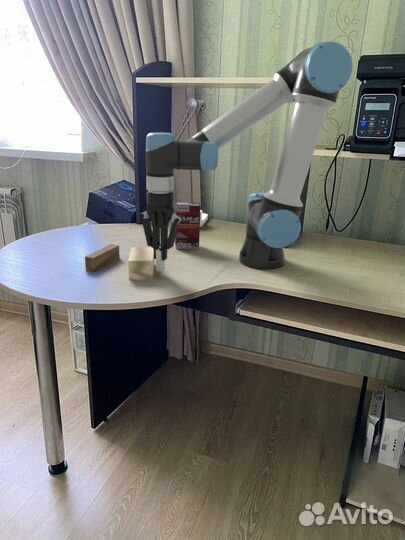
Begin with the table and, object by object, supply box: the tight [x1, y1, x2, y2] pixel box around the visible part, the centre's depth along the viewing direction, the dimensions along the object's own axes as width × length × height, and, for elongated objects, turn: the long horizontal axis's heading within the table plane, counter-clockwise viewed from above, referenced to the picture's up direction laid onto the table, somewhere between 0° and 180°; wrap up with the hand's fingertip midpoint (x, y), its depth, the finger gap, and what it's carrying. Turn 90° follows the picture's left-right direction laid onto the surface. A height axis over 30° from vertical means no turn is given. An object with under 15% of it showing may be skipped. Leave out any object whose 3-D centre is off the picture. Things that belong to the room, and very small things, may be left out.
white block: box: [200, 209, 209, 228], centre depth 183 cm, size 20×9×7 cm, turn 167°
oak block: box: [127, 247, 155, 280], centre depth 127 cm, size 7×12×6 cm, turn 4°
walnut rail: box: [84, 243, 120, 273], centre depth 132 cm, size 3×14×4 cm, turn 158°
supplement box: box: [174, 202, 202, 250], centre depth 149 cm, size 9×5×16 cm, turn 97°
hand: (160, 269), depth 125 cm, fingers closed
